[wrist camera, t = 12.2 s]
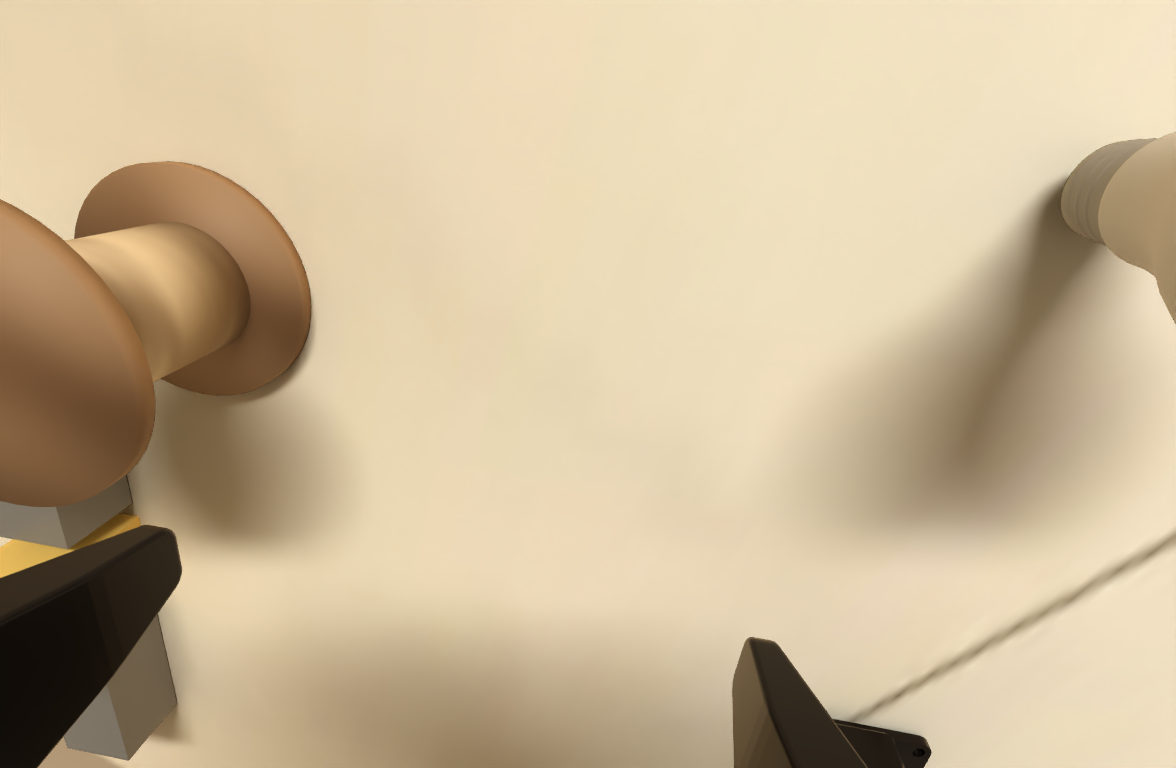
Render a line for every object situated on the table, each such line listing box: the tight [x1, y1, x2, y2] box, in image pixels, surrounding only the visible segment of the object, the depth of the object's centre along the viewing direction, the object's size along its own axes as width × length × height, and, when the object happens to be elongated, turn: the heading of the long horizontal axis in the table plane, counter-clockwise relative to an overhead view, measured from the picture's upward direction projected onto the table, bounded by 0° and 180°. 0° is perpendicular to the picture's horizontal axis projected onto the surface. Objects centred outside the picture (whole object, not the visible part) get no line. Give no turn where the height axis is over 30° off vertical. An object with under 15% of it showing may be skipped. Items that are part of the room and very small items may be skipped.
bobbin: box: [0, 161, 311, 507], centre depth 17 cm, size 8×8×8 cm
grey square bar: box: [0, 475, 177, 761], centre depth 25 cm, size 19×3×3 cm, turn 173°
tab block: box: [0, 513, 141, 578], centre depth 24 cm, size 4×3×6 cm
